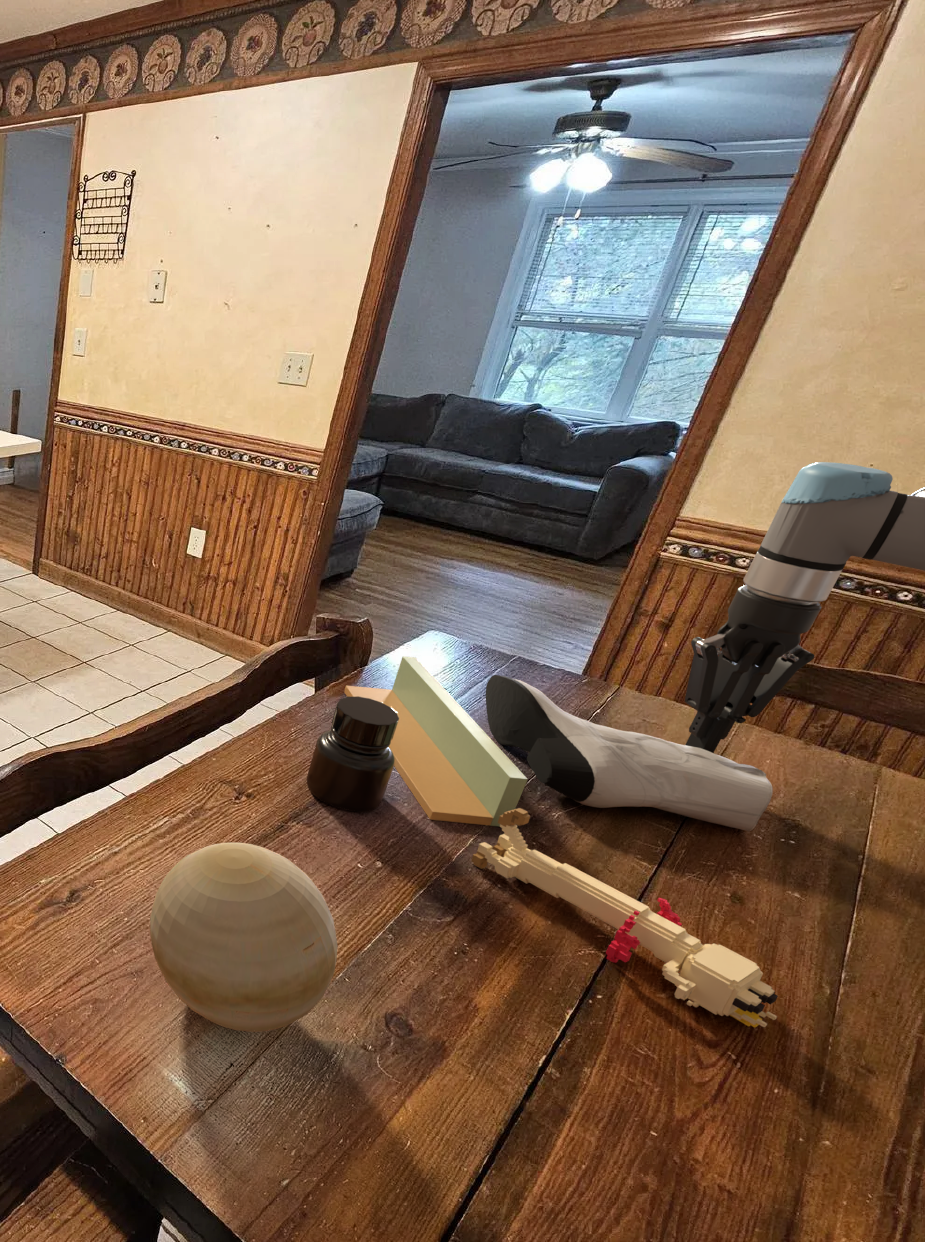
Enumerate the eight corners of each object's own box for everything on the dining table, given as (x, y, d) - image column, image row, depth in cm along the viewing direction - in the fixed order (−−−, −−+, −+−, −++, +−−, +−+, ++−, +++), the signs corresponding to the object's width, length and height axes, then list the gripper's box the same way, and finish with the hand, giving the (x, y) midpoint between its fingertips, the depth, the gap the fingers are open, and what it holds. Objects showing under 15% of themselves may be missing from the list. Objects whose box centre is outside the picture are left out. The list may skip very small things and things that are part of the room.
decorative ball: (286, 1109, 61) (334, 969, 55) (110, 1009, 69) (134, 875, 62) (331, 983, 72) (375, 854, 66) (175, 908, 80) (202, 786, 73)
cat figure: (455, 879, 87) (738, 1052, 67) (474, 812, 84) (777, 971, 64) (510, 856, 92) (792, 1011, 71) (530, 791, 88) (832, 933, 68)
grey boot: (562, 757, 94) (810, 799, 89) (494, 646, 117) (687, 674, 112) (531, 817, 99) (765, 860, 94) (471, 699, 122) (656, 728, 117)
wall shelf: (403, 697, 123) (416, 657, 120) (507, 827, 95) (528, 779, 92) (343, 692, 124) (355, 652, 121) (429, 819, 95) (447, 771, 92)
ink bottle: (382, 783, 102) (409, 703, 96) (387, 823, 94) (416, 737, 89) (302, 764, 105) (324, 685, 100) (300, 801, 97) (324, 717, 92)
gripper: (812, 586, 98) (725, 746, 109) (701, 578, 99) (625, 737, 110) (867, 610, 92) (769, 778, 102) (748, 600, 93) (662, 768, 103)
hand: (694, 756), depth 106 cm, fingers closed
